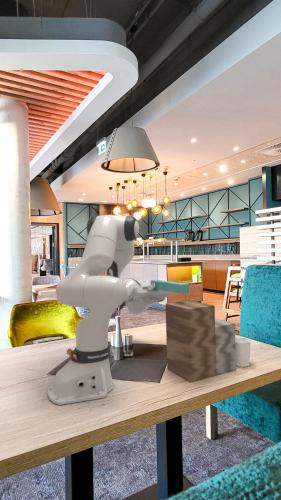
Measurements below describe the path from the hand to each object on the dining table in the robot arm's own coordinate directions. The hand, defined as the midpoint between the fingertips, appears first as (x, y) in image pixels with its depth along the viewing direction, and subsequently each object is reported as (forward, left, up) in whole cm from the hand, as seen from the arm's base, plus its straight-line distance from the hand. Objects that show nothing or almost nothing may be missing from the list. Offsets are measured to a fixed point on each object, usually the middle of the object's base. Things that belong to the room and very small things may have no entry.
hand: (160, 283), depth 143 cm
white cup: (+22, -25, -32) cm, 46 cm away
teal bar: (0, -7, -2) cm, 7 cm away
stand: (+5, -21, -32) cm, 39 cm away
